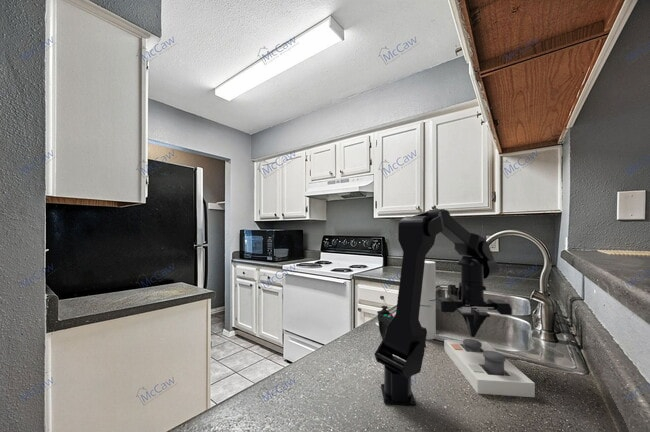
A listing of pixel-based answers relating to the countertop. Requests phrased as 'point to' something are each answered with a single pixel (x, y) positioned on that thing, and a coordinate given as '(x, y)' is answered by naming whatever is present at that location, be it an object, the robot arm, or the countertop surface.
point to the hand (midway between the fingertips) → (472, 336)
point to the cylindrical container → (428, 300)
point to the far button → (472, 345)
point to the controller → (384, 320)
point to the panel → (480, 380)
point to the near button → (494, 363)
